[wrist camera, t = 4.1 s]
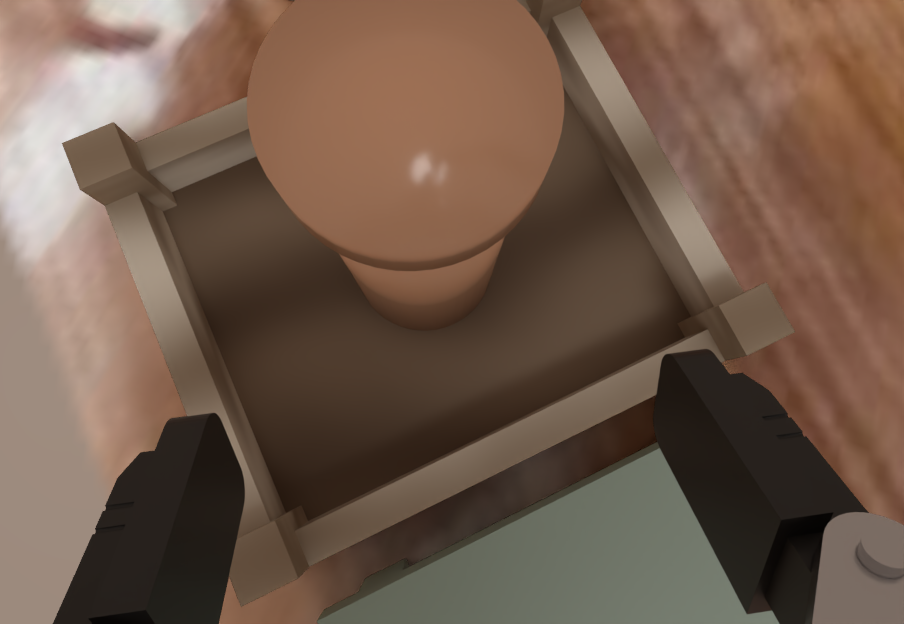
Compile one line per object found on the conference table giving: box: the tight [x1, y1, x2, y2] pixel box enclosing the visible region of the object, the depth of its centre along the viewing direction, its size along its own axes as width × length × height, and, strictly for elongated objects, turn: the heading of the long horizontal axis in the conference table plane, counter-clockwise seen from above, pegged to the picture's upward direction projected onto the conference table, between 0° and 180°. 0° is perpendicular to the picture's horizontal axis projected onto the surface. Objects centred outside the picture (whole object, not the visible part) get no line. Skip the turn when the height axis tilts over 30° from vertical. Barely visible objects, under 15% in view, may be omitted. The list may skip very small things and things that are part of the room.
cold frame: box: [62, 0, 795, 607], centre depth 22 cm, size 16×19×4 cm
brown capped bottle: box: [247, 0, 564, 331], centre depth 17 cm, size 6×6×12 cm
